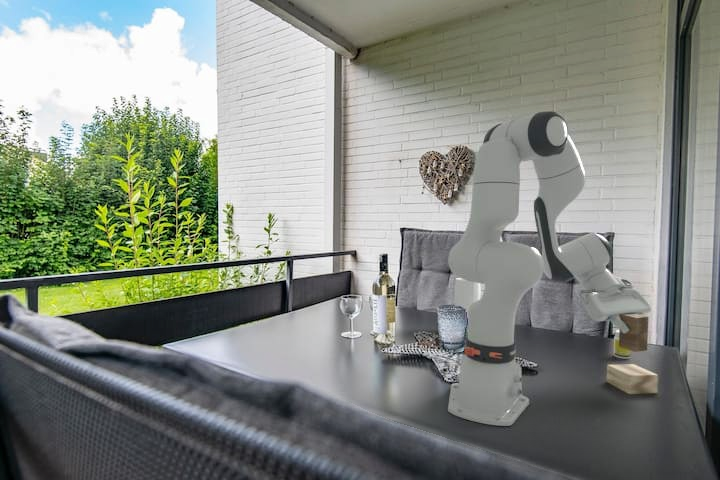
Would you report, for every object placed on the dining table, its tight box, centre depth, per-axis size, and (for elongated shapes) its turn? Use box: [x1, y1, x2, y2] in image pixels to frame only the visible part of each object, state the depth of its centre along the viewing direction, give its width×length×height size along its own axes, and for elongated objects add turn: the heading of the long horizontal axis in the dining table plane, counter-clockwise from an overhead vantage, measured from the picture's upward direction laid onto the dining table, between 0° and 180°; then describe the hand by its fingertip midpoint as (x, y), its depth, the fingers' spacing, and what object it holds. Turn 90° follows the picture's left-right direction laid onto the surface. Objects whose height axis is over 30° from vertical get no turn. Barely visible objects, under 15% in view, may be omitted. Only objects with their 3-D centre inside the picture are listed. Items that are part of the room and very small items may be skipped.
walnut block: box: [619, 313, 649, 353], centre depth 107 cm, size 4×4×9 cm
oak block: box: [606, 363, 659, 395], centre depth 107 cm, size 8×8×5 cm
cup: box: [454, 277, 482, 318], centre depth 159 cm, size 10×10×22 cm
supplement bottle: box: [612, 329, 631, 360], centre depth 132 cm, size 5×5×8 cm
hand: (635, 331), depth 106 cm, fingers closed on walnut block, 4 cm apart
